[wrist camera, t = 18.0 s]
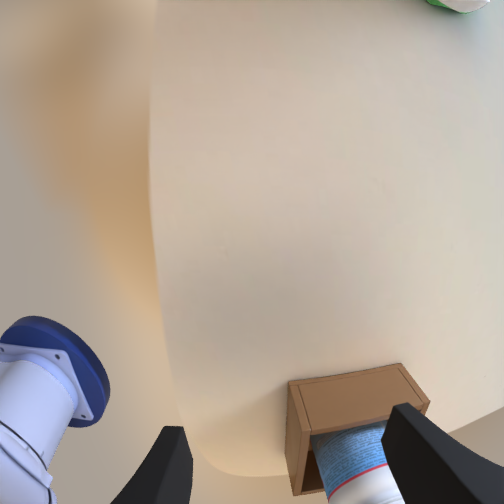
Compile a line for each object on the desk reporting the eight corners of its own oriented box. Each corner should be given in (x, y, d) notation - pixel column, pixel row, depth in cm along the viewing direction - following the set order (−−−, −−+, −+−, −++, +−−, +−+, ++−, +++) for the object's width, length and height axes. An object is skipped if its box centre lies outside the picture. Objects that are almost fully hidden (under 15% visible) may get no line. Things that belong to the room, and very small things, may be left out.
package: (284, 453, 23) (293, 496, 19) (288, 381, 21) (301, 431, 16) (378, 435, 24) (396, 472, 19) (401, 362, 21) (430, 401, 17)
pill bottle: (293, 436, 22) (321, 552, 11) (331, 385, 21) (384, 512, 10) (351, 442, 23) (390, 540, 12) (389, 395, 22) (450, 497, 11)
